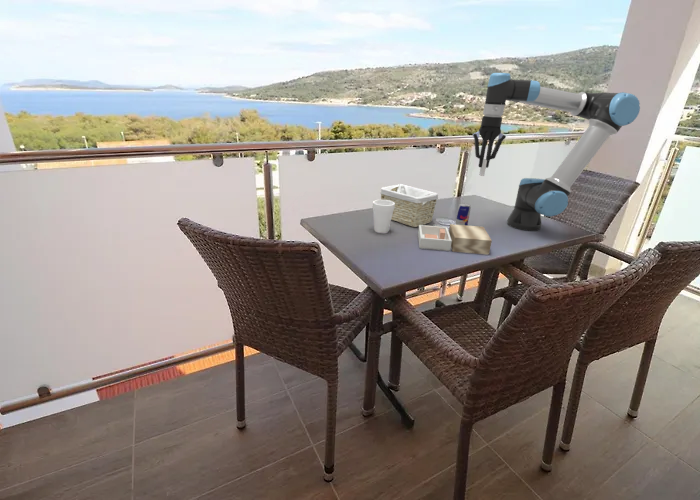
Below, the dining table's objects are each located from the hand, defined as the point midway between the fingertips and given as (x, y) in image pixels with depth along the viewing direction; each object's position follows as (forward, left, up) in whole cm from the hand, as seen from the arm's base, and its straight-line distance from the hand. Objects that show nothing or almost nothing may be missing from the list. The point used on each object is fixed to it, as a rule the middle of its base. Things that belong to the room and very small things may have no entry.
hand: (481, 175), depth 157 cm
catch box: (+18, +15, -26) cm, 35 cm away
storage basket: (+29, -14, -27) cm, 42 cm away
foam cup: (+40, +6, -27) cm, 48 cm away
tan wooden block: (+4, +15, -26) cm, 31 cm away
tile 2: (+14, +15, -23) cm, 31 cm away
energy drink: (+4, -4, -27) cm, 27 cm away
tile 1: (+19, +15, -24) cm, 34 cm away
